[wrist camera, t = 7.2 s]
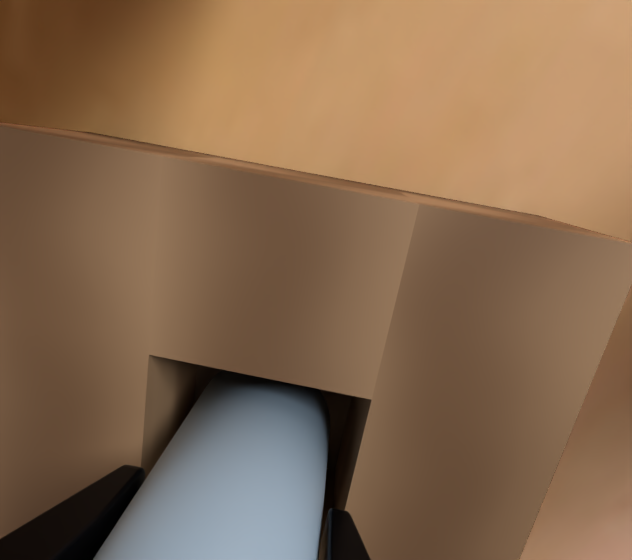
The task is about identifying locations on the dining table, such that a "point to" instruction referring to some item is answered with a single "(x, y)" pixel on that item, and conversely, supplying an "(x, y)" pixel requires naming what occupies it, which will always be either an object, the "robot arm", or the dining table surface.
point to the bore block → (294, 331)
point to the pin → (234, 479)
